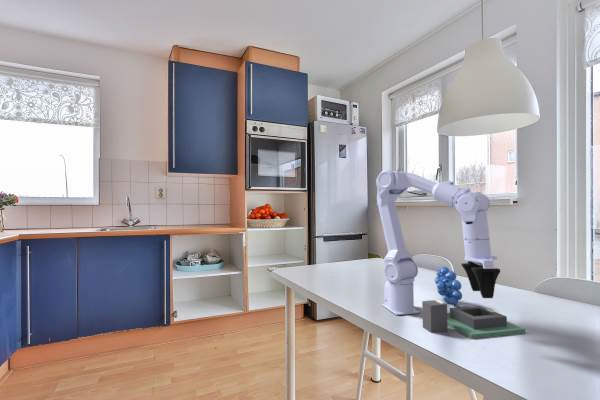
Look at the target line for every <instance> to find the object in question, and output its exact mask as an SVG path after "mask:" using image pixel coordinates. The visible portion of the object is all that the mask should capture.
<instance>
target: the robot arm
mask: <svg viewBox="0 0 600 400" xmlns="http://www.w3.org/2000/svg"><path fill="white" fill-rule="evenodd" d="M375 183H376V188H377V194H376V202H377V207H378V212H379V217H380V220H381V225H382V231H383V233H384V239H385V243H386V247H387V248H386V249H387V254H386V255H385V256H384V258H383V262H384V266H383V267H384V268H383V273H384V277H385V278H386V279H387V280H386V282H385V283H384V288H383V289H384V293H383V294H384V303H382V304H381V305H382V307H384V308H385V309H387V310H389V312H391V313H393V314H394V315H395V316H402V315H403V316H405V315H414V314H420V312H421V311H420V310H418V309H416V308H415V306H414V305H415V303H414V299H415V298H414V293H415V292H414V282H415V278H416V277H417V276H418V274H419V268H418V264H417V263H416V261H415V260H414V257H413V254H412V253H411V252H410V251H408V250H407V249H406V248H407V246H406V244H405V239H404V235H403V232H402V227H401V222H400V217H399V214H398V211H397V205H396V201H397V199H398V198H399V197H400V196H401V195H402V194H404V193H405V192H406V191H407V190H408V189H409V188H415V189H417V190H420V191H422V192H425V193H428V194H432V197H433V199H434V200H435V201H436V202H438V203H441V204H444V205H446V206H448V207H450V208H452V209H455V210H456V211H457V212H458V213H459V214H460V218H461V225H462V226H461V228H462V236H463V248H464V255H465V256H464V261H466V262H467V263H466V262H465V263H460V264H461V267H462V268H463V270H464V272H465V273H466V275H467V278H468V281H469V285H470V287H471V288H470V289H471V290H472V291H473V292H480V295H481V298H482V299H493V298H494V295H495V289H496V288H495V287H496V283H497V279H498V277H499V275H500V273H501V269H500V268H495V267H494V265H495V263H494V261H496V260H498V256H495V255H492V249H491V240H490V232H489V231H490V230H489V223H488V214H487V211H488V210H489V208H490V205H491V204H490V203H491V202H490V199H489V197H488V196H487V195H486V194H484V193H482V192H481V191H475V192H471V188H470V187H467V186H466V187H461V186H458V185H456V184H454V181H451V180H447V181H440V182H439V183H437V182H435V181H432V180H430V179H427V178H425V177H422V176H420V175H418V174H416V173H413V172H408V171H399V170H398V171H397V170H390V169H384V170H382V171H381V172H380V173H378V176H377V177H376V179H375Z"/></svg>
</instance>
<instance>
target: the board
mask: <svg viewBox="0 0 600 400" xmlns="http://www.w3.org/2000/svg"><path fill="white" fill-rule="evenodd" d="M507 319H508V316H507V315H503V314H501V313H499V312H497V311H495V310H492V309H489V308H487V307H485V306H483V305H470V306H460V307H459V306H458V307H457V306H455V307H449V313H448V312H447V327H450V328H452V329H453V330H455V331H457V332H459V333H461V334H462V335H464V336H466V337H467V338H469V339H480V338H489V337H498V336H501V337H502V336H508V335H518V334H526V328H525V327H521V326H519V325H517V324H515V323H512V322H510V321H508V320H507Z"/></svg>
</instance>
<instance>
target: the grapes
mask: <svg viewBox="0 0 600 400" xmlns="http://www.w3.org/2000/svg"><path fill="white" fill-rule="evenodd" d="M435 272H436V277H434V278H435V279H434V283H435V285H436V287H437V293H438V294H439V295H440V296H441V297H442V300H443V301H444V303H446V304H451V305H453V306H457V305H458V304H459V301H460V300H462V298H463V294H462V292H461V291H460V290H461V289H462V282H461V281H459V280H458V279H457V274H456V272H455V271H454V270H450V268H448V267H447V266H444V265H443V266H442V267H441V268H437V270H436V271H435Z"/></svg>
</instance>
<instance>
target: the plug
mask: <svg viewBox="0 0 600 400" xmlns="http://www.w3.org/2000/svg"><path fill="white" fill-rule="evenodd" d="M421 302H422V305H421V306H422V328H423V329H424V330H426V331H428V332H429V333H431V334H435V333H442V332H448V325H447V314H448V303H446V302H443V301H441V300H439V299H436V300H435V299H433V300H422V301H421Z"/></svg>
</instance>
